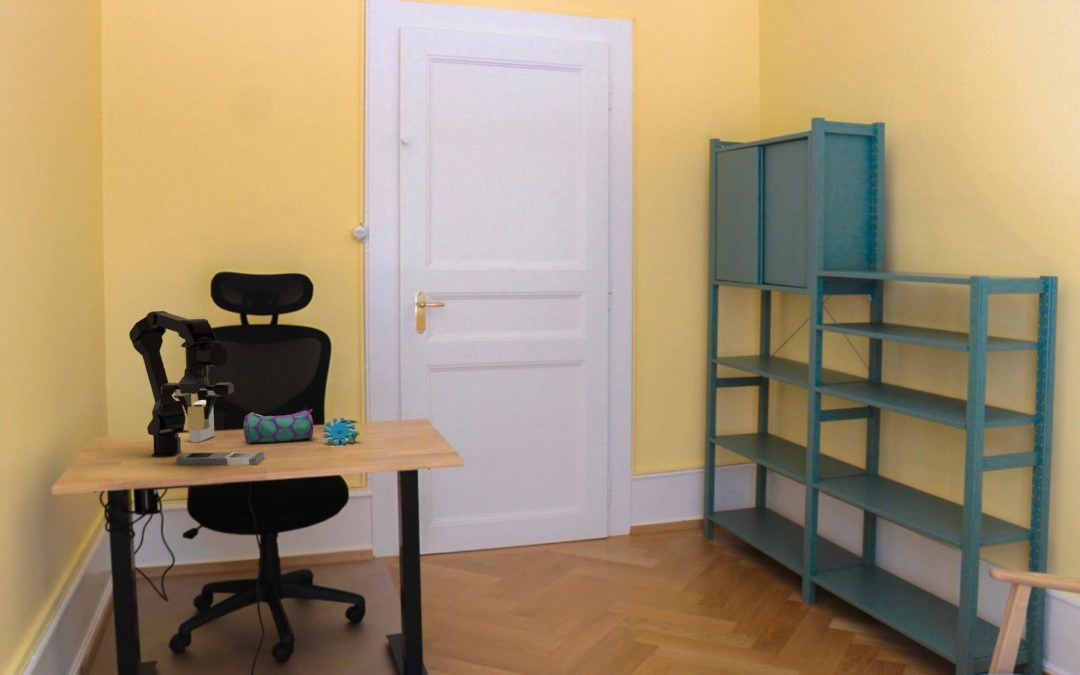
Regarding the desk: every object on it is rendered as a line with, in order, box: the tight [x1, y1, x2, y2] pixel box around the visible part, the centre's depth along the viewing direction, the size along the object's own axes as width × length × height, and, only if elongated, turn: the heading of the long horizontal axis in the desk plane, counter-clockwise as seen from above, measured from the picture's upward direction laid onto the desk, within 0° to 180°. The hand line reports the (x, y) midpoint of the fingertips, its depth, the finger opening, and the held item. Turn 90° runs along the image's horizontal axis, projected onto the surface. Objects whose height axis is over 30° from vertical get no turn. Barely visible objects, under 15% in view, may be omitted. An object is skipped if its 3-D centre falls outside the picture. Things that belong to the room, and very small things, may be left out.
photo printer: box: [188, 399, 215, 443], centre depth 301 cm, size 10×4×12 cm, turn 172°
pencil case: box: [243, 409, 314, 444], centre depth 299 cm, size 21×9×10 cm, turn 110°
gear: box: [322, 416, 360, 446], centre depth 297 cm, size 11×6×10 cm
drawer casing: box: [176, 451, 265, 466], centre depth 270 cm, size 22×8×2 cm, turn 91°
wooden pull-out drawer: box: [187, 403, 209, 431], centre depth 269 cm, size 4×4×7 cm
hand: (198, 419), depth 269 cm, fingers closed on wooden pull-out drawer, 4 cm apart
